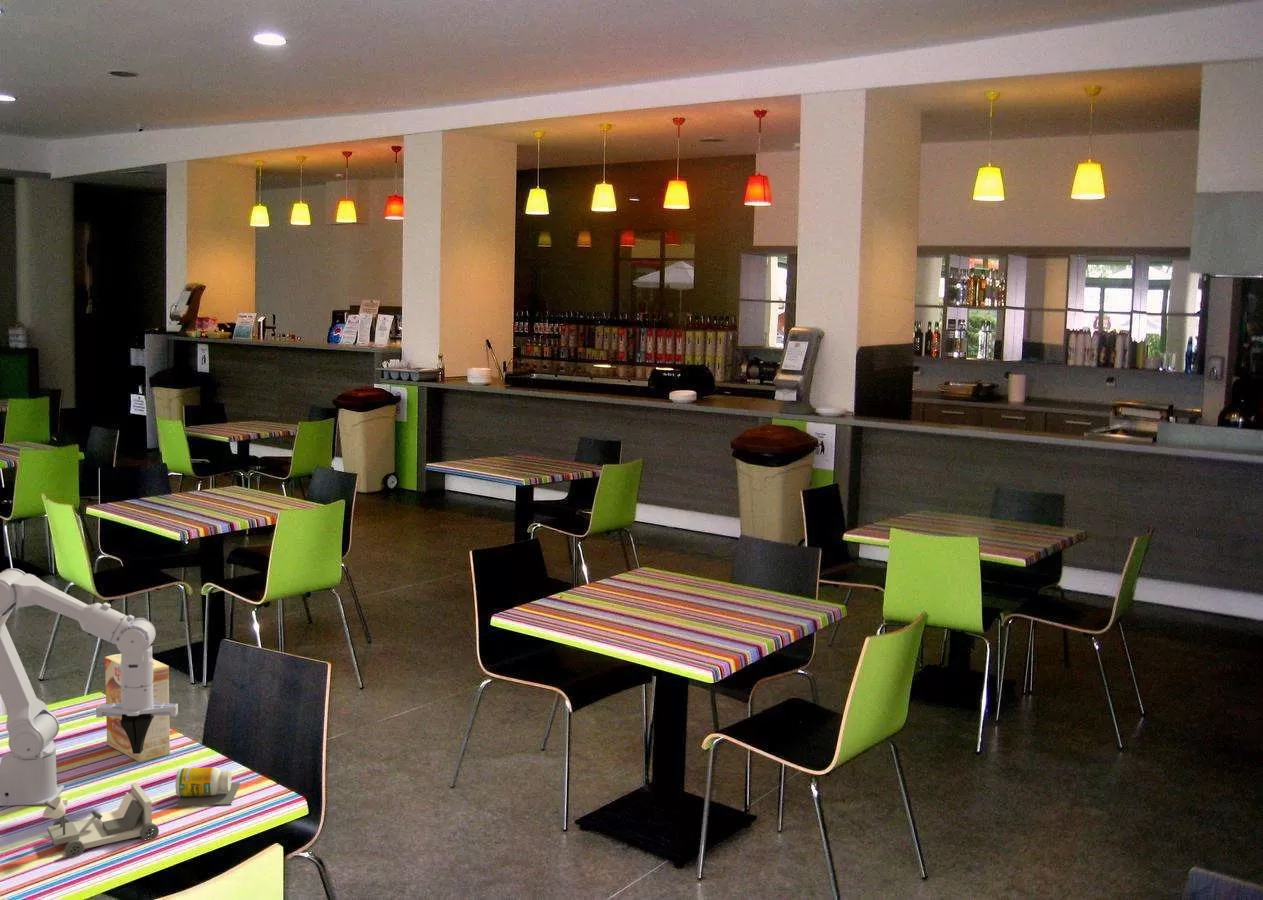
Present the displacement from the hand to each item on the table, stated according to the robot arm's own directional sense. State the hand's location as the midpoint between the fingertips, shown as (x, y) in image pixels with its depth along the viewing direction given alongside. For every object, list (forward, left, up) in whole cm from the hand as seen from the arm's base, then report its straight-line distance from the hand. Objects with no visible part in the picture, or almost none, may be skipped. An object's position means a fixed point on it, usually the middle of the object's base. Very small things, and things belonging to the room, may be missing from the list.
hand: (137, 751), depth 228 cm
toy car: (-3, -18, -9) cm, 21 cm away
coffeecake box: (-6, +24, -9) cm, 27 cm away
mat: (+13, -2, -9) cm, 16 cm away
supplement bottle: (+8, -2, -6) cm, 10 cm away
